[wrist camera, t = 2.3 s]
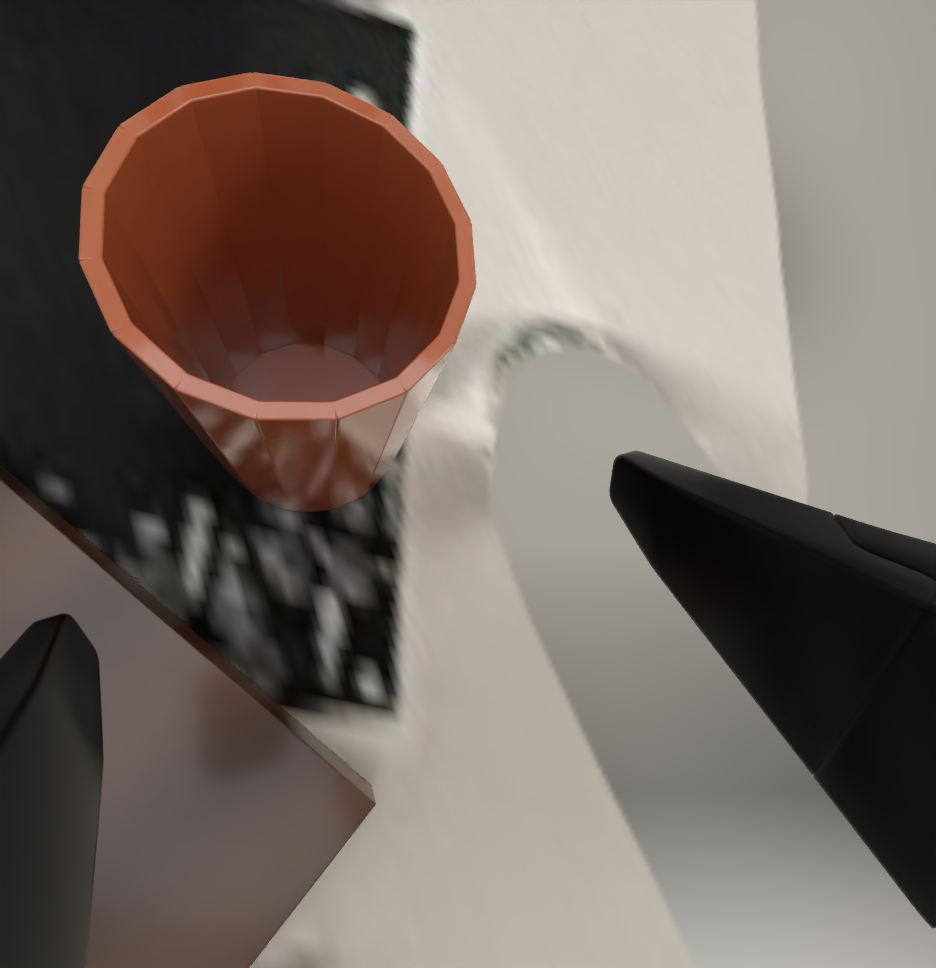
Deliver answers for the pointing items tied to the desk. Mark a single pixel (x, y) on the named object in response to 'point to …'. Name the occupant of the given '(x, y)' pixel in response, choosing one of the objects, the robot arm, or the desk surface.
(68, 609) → the board
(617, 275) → the desk surface
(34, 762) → the robot arm
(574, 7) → the desk surface
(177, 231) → the pen cup
